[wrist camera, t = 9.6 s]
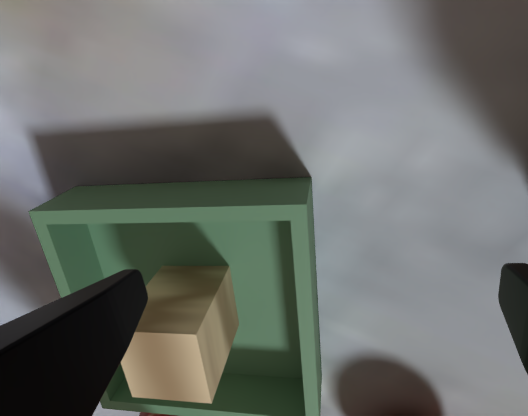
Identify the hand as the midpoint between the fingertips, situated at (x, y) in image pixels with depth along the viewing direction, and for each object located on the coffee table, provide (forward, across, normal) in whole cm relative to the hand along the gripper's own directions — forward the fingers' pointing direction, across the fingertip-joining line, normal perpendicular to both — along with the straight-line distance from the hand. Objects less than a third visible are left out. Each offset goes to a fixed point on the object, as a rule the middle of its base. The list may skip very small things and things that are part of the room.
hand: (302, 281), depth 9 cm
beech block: (+11, +8, +8) cm, 16 cm away
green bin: (+12, +8, +8) cm, 17 cm away
